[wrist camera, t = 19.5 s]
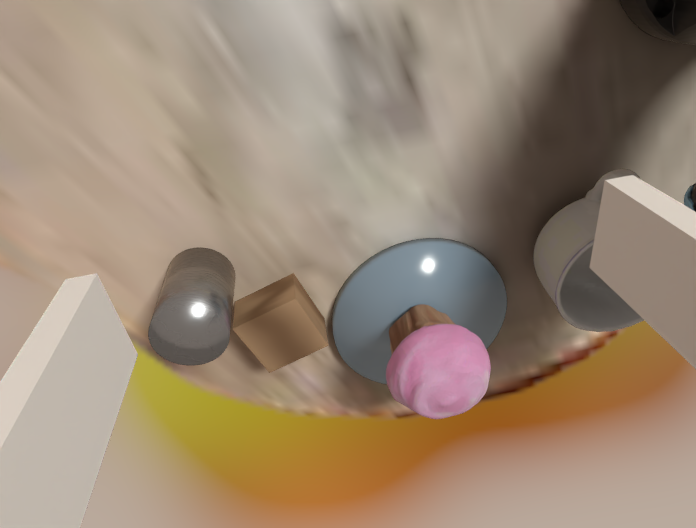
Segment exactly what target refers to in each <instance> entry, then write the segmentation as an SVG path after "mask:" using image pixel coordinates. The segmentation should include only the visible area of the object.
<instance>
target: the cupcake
mask: <svg viewBox="0 0 696 528" xmlns="http://www.w3.org/2000/svg"><path fill="white" fill-rule="evenodd" d="M389 337H390V347H391V353H392V356H391V358H390V360H389V362H388V364H387V368H386V381H387V385H388V388H389V390H390V392H391V394H392V396H393V398H394V399H395V400H396V401H398V402H399V403H401V404H403V405H405V406H406V407H408V408H409V409H411V410H413V411H415V412H417V413H418V414H420V415H422V416H425V417H428V418H432V419H441V418H446V417H450V416H454V415H458V414H461V413H464V412H466V411H467V410H469V409H470V408H472V407H473V406H474V405H476V404H477V403H478V402H479V401H480V400H481V399H482V397H483V396H484V395H485V393H486V391H487V388H488V383H489V378H490V370H491V365H490V359H489V355H488V352H487V350H486V348H485V346H484V344H483V342H482V340H481V339H480V338H479V337H478V336H477V335H476V334H474V333H472V332H471V331H469V330H468V329H467V328H464V327H462V326H460V325H456V324H455V323H454V322H453V321H452V320H451V319H450V318H449V316H448V315H447V314H445V313H442V312H439V311H437V310H436V309H435V308H433V307H431V306H429V305H425V304H420V305H416V306H414V307H412V308H411V309H410V310H409V311H408V312H406V313H405V314H404V315H403V316H402V317H401V318H399V319H398V320H396V322H395V323H394V324H393V325H392V326H391V327H390V329H389Z"/></svg>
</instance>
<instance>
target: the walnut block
mask: <svg viewBox="0 0 696 528" xmlns="http://www.w3.org/2000/svg"><path fill="white" fill-rule="evenodd" d="M232 329H233V330H234V332H235V333H236V334H237V335H238V336H239V338H240V339H241V340H242V341H243V342H244V343H245V345H246V346H247V347H248V348H249V349H250V350H251V352H252V353H253V354H254V355H255V356H256V358H257V359H258V360H259V361H260V362H261V363H262V365H263V366H264V367H265V368H266V369H267V371H268V372H269V373H270V372H272V371H275V370H277V369H279V368H281V367H283V366H285V365H287V364H290V363H292V362H294V361H296V360H298V359H300V358H303V357H305V356H307V355H309V354H311V353H313V352H315V351H318V350H320V349H322V348H324V347H326V346H328V339H327V333H326V326H325V320H324V317H323V316H322V314H321V313H320V312H319V310H318V309H317V307H316V306H315V304H314V303H313V301H312V300H311V298H310V297H309V295H308V294H307V292H306V291H305V289H304V288H303V287H302V285H301V284H300V282H299V281H298V279H297V278H296V276H295V275H294V273H293V274H291V275H289V276H287V277H285V278H283V279H281V280H279V281H277V282H274V283H272V284H270V285H268V286H266V287H264V288H262V289H260V290H258V291H256V292H254V293H252V294H250V295H248V296H246V297H244V298H242V299H240V300H238V301H236V302H235V307H234V318H233V328H232Z"/></svg>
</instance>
